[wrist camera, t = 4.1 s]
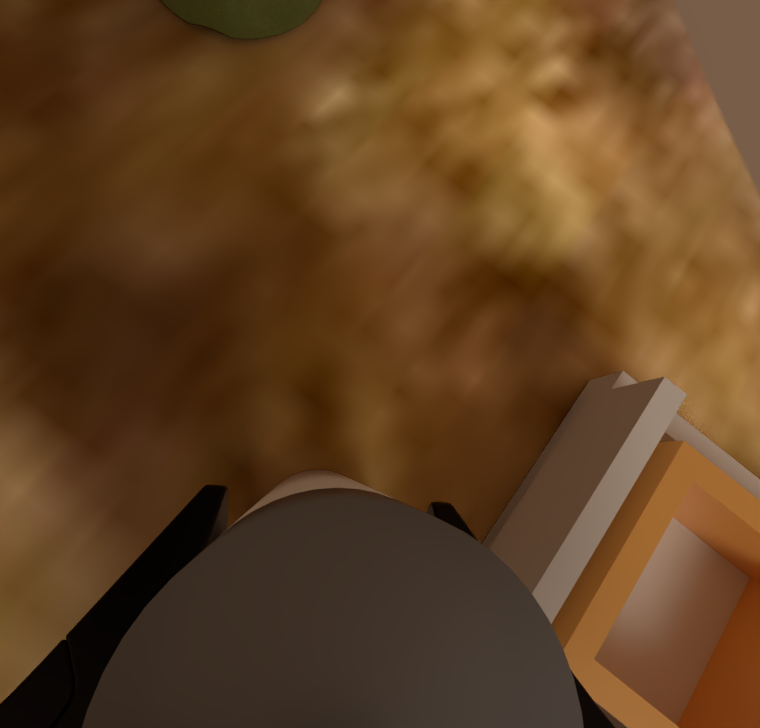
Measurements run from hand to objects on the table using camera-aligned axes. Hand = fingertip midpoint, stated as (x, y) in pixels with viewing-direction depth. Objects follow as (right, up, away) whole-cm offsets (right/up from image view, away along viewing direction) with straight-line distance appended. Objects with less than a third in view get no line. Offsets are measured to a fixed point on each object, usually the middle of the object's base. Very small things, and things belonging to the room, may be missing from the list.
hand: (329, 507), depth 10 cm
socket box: (+10, -5, +7) cm, 13 cm away
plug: (-1, -3, +6) cm, 7 cm away
